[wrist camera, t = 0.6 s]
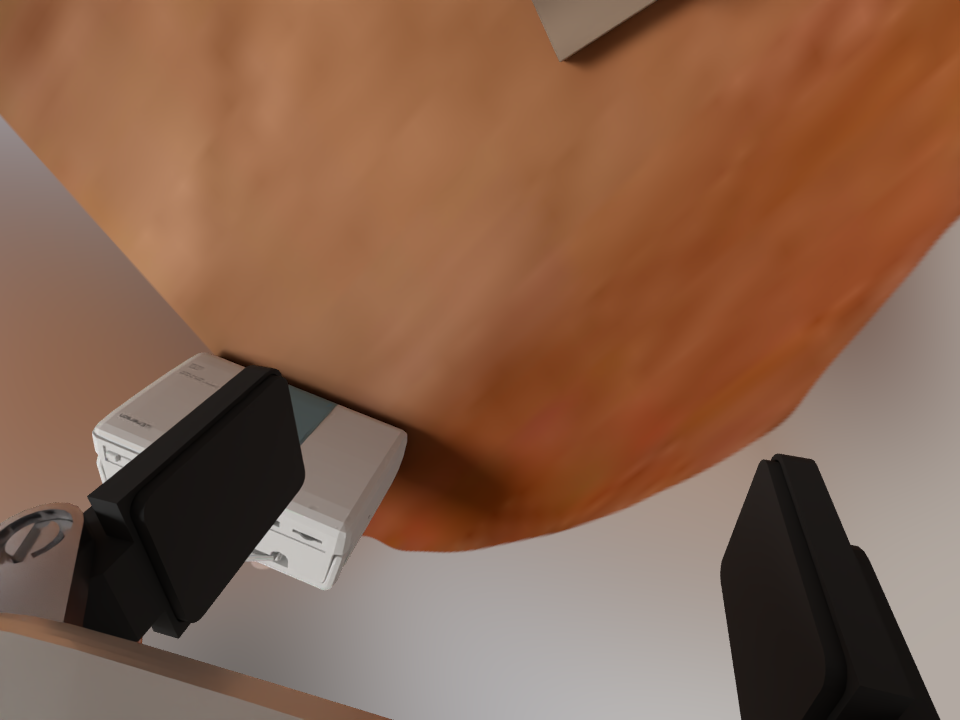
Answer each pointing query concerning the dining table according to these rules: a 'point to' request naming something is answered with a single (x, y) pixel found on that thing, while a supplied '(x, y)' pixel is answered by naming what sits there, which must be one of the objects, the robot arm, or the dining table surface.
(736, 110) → the dining table surface
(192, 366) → the stereo radio cassette player
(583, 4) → the dial housing
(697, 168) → the dining table surface
